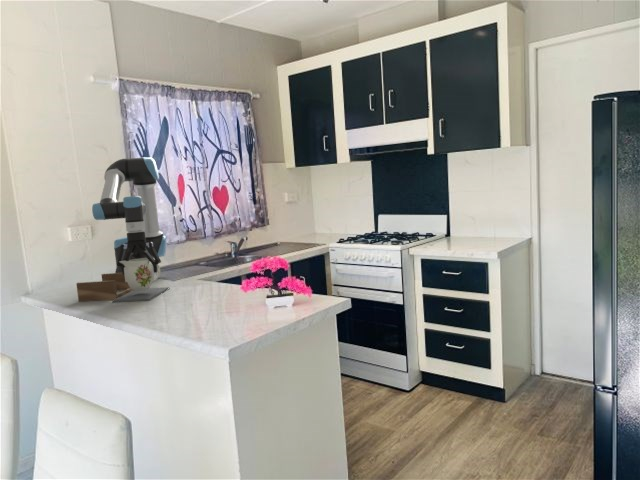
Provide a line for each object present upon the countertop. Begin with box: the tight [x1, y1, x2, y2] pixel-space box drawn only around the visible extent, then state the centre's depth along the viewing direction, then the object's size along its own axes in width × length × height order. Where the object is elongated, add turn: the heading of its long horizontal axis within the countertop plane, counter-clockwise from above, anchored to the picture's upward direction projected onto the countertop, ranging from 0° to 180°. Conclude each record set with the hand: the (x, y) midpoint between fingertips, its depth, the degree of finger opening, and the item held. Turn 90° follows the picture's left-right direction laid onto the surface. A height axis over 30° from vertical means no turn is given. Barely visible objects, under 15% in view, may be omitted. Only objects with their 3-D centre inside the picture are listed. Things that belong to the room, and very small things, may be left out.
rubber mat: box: [111, 286, 170, 304], centre depth 215 cm, size 24×16×1 cm, turn 178°
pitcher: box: [119, 258, 161, 291], centre depth 214 cm, size 11×18×14 cm, turn 137°
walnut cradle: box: [76, 272, 133, 302], centre depth 222 cm, size 24×16×8 cm
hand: (140, 280), depth 214 cm, fingers closed on pitcher, 11 cm apart
